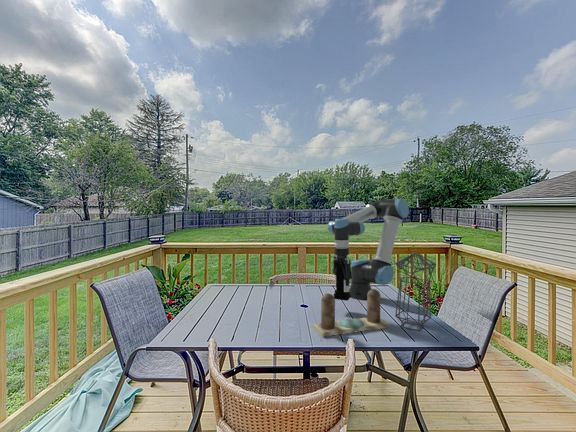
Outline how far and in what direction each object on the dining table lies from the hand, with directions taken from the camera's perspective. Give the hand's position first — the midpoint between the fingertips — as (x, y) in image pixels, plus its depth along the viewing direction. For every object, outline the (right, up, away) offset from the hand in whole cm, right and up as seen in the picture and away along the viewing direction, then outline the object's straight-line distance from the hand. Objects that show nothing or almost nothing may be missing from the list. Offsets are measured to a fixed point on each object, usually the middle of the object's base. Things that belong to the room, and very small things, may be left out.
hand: (341, 289), depth 162 cm
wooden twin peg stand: (0, -12, -23) cm, 26 cm away
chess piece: (0, -5, 0) cm, 5 cm away
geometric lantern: (+30, -13, -21) cm, 39 cm away
